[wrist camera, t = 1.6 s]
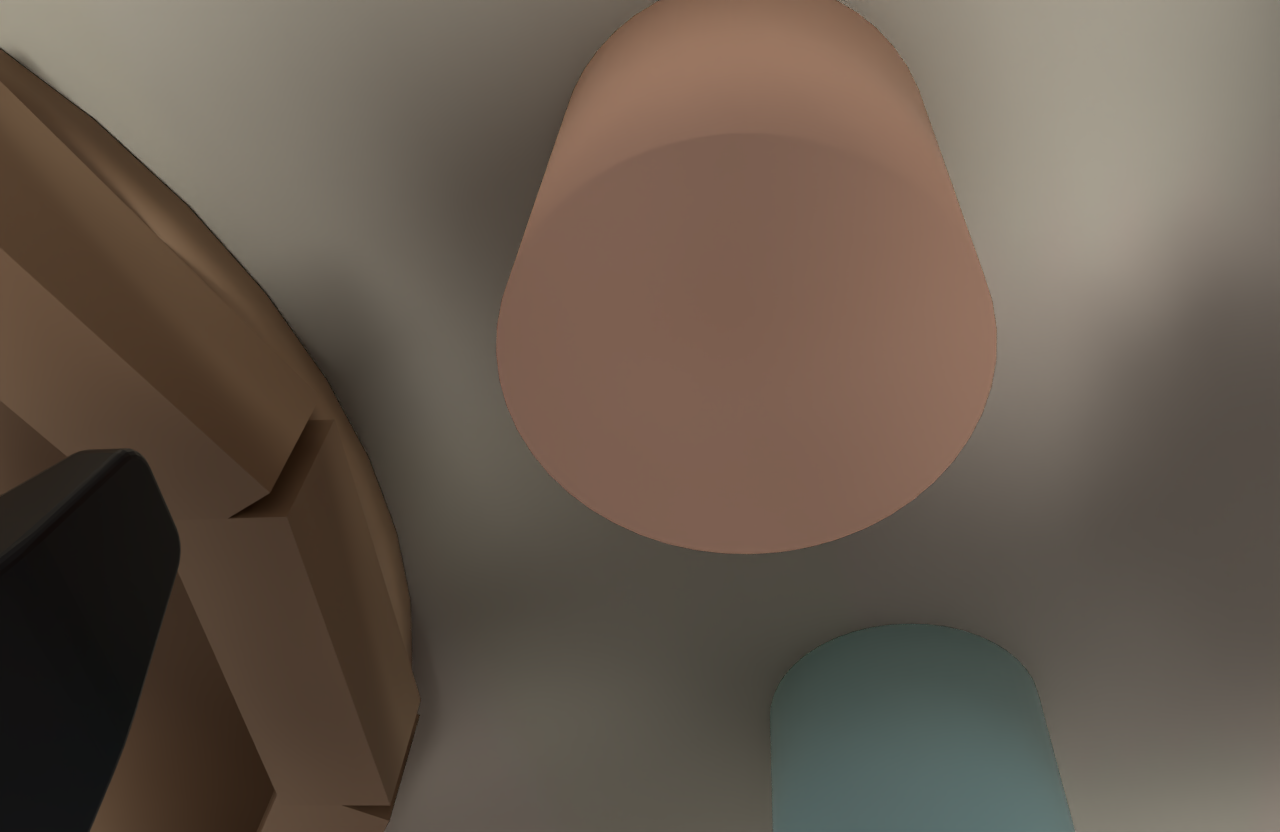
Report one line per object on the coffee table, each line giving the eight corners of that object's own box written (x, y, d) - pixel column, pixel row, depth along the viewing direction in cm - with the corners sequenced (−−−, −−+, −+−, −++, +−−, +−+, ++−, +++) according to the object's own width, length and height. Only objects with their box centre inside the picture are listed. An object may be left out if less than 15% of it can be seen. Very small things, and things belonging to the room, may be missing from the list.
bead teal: (1053, 620, 16) (1131, 879, 13) (1026, 799, 18) (1087, 1057, 15) (765, 625, 17) (770, 876, 13) (773, 798, 19) (780, 1050, 16)
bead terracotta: (938, -38, 11) (1018, 113, 8) (922, 318, 13) (979, 549, 10) (534, -5, 12) (453, 151, 8) (583, 334, 14) (535, 559, 11)
